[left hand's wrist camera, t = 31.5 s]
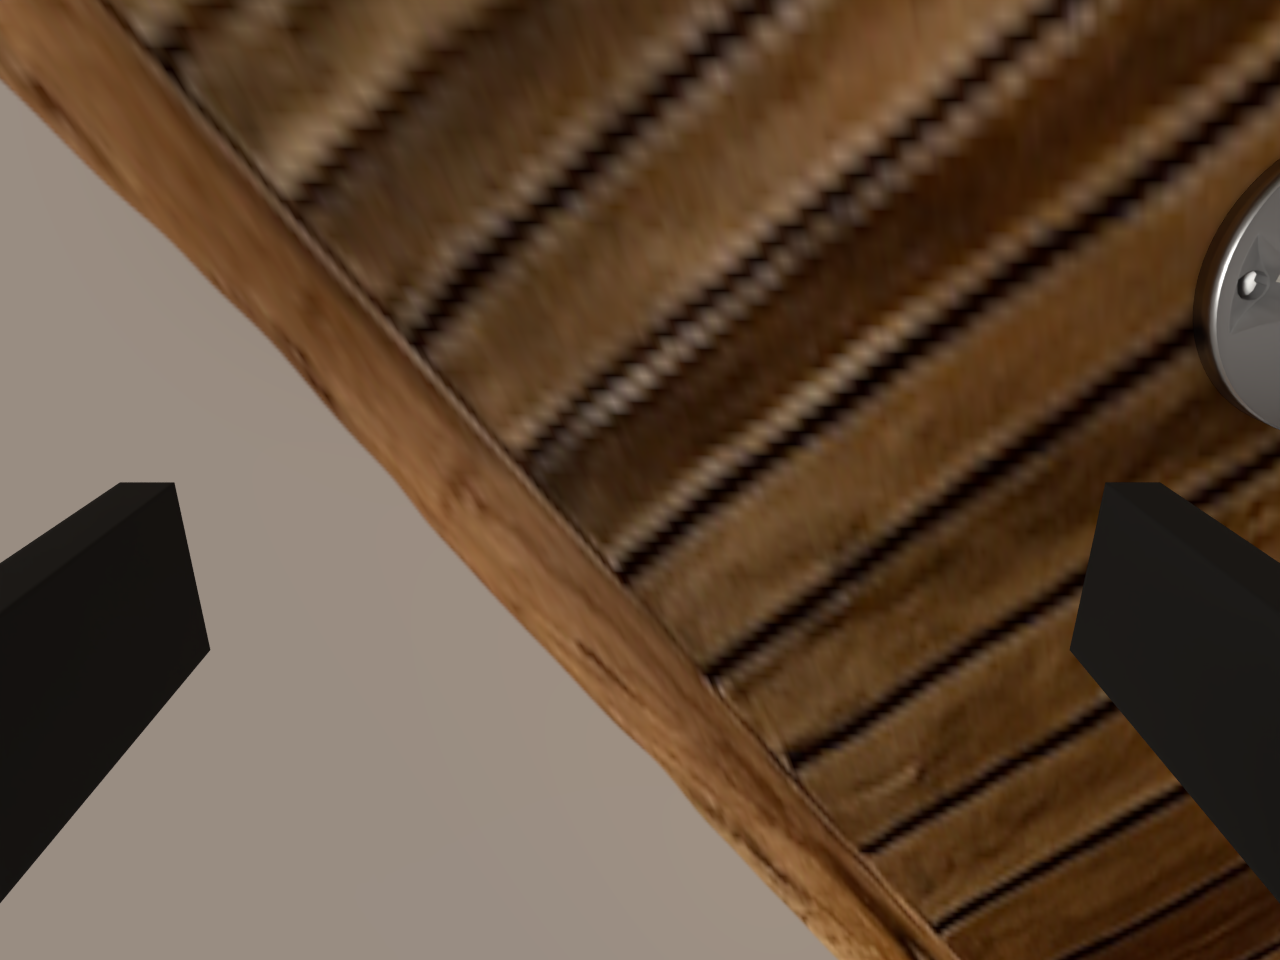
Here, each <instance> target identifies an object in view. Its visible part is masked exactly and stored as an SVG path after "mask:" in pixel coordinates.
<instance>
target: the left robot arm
mask: <svg viewBox="0 0 1280 960" xmlns="http://www.w3.org/2000/svg"><path fill="white" fill-rule="evenodd" d="M1193 328H1194V337H1195V342H1196V347H1197V351H1198V354H1199V357H1200V360H1201V363H1202V365H1203V367H1204V370H1205V372H1206V374H1207V375H1208V377H1209V379H1210V380H1211V382H1212V383H1213V385H1214V386H1215V387H1216V389H1217V390H1218V391H1219V392H1220V394H1221V395H1222V396H1223V397H1224V398H1226V399H1227V400H1228V401H1229V402H1230V403H1231V404H1232V405H1234V406H1235V407H1236V408H1238V409H1239V410H1240V411H1242V412H1244V413H1246V414H1247V415H1249V416H1251V417H1253V418H1255V419H1257V420H1259V421H1262V422H1264V423H1266V424H1268V425H1270V426H1272V427H1274V428H1277V429H1279V430H1280V159H1279V160H1277V161H1276V162H1275V163H1274V164H1273V165H1272V166H1270V167H1269V168H1268V169H1267V170H1266V171H1265V172H1263V173H1262V174H1261V175H1260V176H1259V177H1258V178H1257V179H1256V180H1255V181H1254V182H1253V183H1252V184H1251V185H1250V186H1249V188H1248V189H1247V190H1246V191H1245V192H1244V193H1243V195H1242V196H1241V197H1240V198H1239V199H1238V200H1237V202H1236V203H1235V205H1234V206H1233V207H1232V209H1231V210H1230V211H1229V213H1228V214H1227V216H1226V217H1225V219H1224V220H1223V222H1222V224H1221V225H1220V227H1219V229H1218V230H1217V232H1216V234H1215V236H1214V238H1213V240H1212V242H1211V244H1210V246H1209V248H1208V251H1207V253H1206V256H1205V258H1204V261H1203V264H1202V267H1201V270H1200V273H1199V276H1198V281H1197V285H1196V290H1195V297H1194V305H1193ZM209 651H210V646H209V642H208V637H207V632H206V628H205V623H204V618H203V614H202V609H201V604H200V600H199V595H198V590H197V586H196V581H195V576H194V572H193V567H192V562H191V558H190V553H189V549H188V544H187V539H186V535H185V530H184V525H183V521H182V516H181V511H180V507H179V502H178V497H177V493H176V488H175V483H119V484H117V485H116V486H114V487H113V488H111V489H110V490H108V491H107V492H105V493H104V494H102V495H101V496H99V497H98V498H96V499H95V500H93V501H92V502H90V503H89V504H87V505H86V506H84V507H83V508H81V509H80V510H78V511H77V512H75V513H74V514H73V515H71V516H70V517H68V518H67V519H65V520H64V521H62V522H61V523H59V524H58V525H56V526H55V527H53V528H52V529H50V530H49V531H47V532H46V533H44V534H43V535H41V536H40V537H38V538H37V539H35V540H34V541H32V542H31V543H29V544H28V545H27V546H25V547H24V548H22V549H21V550H19V551H18V552H16V553H15V554H13V555H12V556H10V557H9V558H7V559H6V560H4V561H3V562H1V563H0V903H1V902H2V900H3V899H4V898H5V897H6V896H7V894H8V893H9V892H10V891H11V889H12V888H13V887H14V886H15V885H16V883H17V882H18V881H19V880H20V879H21V877H22V876H23V875H24V874H25V873H26V871H27V870H28V869H29V868H30V867H31V865H32V864H33V863H34V862H35V861H36V859H37V858H38V857H39V856H40V855H41V853H42V852H43V851H44V850H45V849H46V847H47V846H48V845H49V844H50V842H51V841H52V840H53V839H54V838H55V836H56V835H57V834H58V833H59V832H60V830H61V829H62V828H63V827H64V826H65V824H66V823H67V822H68V821H69V820H70V818H71V817H72V816H73V815H74V813H75V812H76V811H77V810H78V809H79V808H80V806H81V805H82V804H83V803H84V801H85V800H86V799H87V798H88V797H89V795H90V794H91V793H92V792H93V791H94V789H95V788H96V787H97V786H98V785H99V783H100V782H101V781H102V780H103V779H104V777H105V776H106V775H107V774H108V773H109V771H110V770H111V769H112V768H113V767H114V765H115V764H116V763H117V762H118V760H119V759H120V758H121V757H122V756H123V754H124V753H125V752H126V751H127V750H128V748H129V747H130V746H131V745H132V744H133V742H134V741H135V740H136V739H137V738H138V736H139V735H140V734H141V733H142V732H143V730H144V729H145V728H146V727H147V726H148V724H149V723H150V722H151V721H152V720H153V718H154V717H155V716H156V715H157V714H158V712H159V711H160V710H161V709H162V708H163V706H164V705H165V704H166V703H167V701H168V700H169V699H170V698H171V697H172V695H173V694H174V693H175V692H176V691H177V689H178V688H179V687H180V686H181V685H182V683H183V682H184V681H185V680H186V679H187V677H188V676H189V675H190V674H191V672H192V671H193V670H194V669H195V668H196V666H197V665H198V664H199V663H200V662H201V661H202V659H203V658H204V657H205V656H206V654H207V653H208V652H209ZM1070 651H1071V652H1072V653H1073V654H1074V656H1075V657H1076V658H1077V659H1078V661H1079V662H1080V663H1081V664H1082V665H1083V667H1084V668H1085V669H1086V670H1087V671H1088V673H1089V674H1090V675H1091V676H1092V677H1093V679H1094V680H1095V681H1096V682H1097V683H1098V685H1099V686H1100V687H1101V688H1102V689H1103V691H1104V692H1105V693H1106V694H1107V695H1108V697H1109V698H1110V699H1111V700H1112V701H1113V703H1114V704H1115V705H1116V706H1117V708H1118V709H1119V710H1120V711H1121V712H1122V714H1123V715H1124V716H1125V717H1126V718H1127V720H1128V721H1129V722H1130V723H1131V724H1132V726H1133V727H1134V728H1135V729H1136V730H1137V732H1138V733H1139V734H1140V735H1141V736H1142V738H1143V739H1144V740H1145V741H1146V742H1147V744H1148V745H1149V746H1150V747H1151V748H1152V750H1153V751H1154V752H1155V753H1156V755H1157V756H1158V757H1159V758H1160V759H1161V761H1162V762H1163V763H1164V764H1165V765H1166V767H1167V768H1168V769H1169V770H1170V771H1171V773H1172V774H1173V775H1174V776H1175V777H1176V779H1177V780H1178V781H1179V782H1180V783H1181V785H1182V786H1183V787H1184V788H1185V789H1186V791H1187V792H1188V793H1189V794H1190V795H1191V797H1192V798H1193V799H1194V800H1195V802H1196V803H1197V804H1198V805H1199V806H1200V808H1201V809H1202V810H1203V811H1204V812H1205V814H1206V815H1207V816H1208V817H1209V818H1210V820H1211V821H1212V822H1213V823H1214V824H1215V826H1216V827H1217V828H1218V829H1219V830H1220V832H1221V833H1222V834H1223V835H1224V836H1225V838H1226V839H1227V840H1228V841H1229V842H1230V844H1231V845H1232V846H1233V847H1234V849H1235V850H1236V851H1237V852H1238V853H1239V855H1240V856H1241V857H1242V858H1243V859H1244V861H1245V862H1246V863H1247V864H1248V865H1249V867H1250V868H1251V869H1252V870H1253V871H1254V873H1255V874H1256V875H1257V876H1258V877H1259V879H1260V880H1261V881H1262V882H1263V883H1264V885H1265V886H1266V887H1267V888H1268V889H1269V891H1270V892H1271V893H1272V894H1273V896H1274V897H1275V898H1276V899H1277V900H1278V902H1279V903H1280V563H1279V562H1277V561H1276V560H1274V559H1273V558H1271V557H1270V556H1268V555H1267V554H1265V553H1264V552H1262V551H1261V550H1259V549H1258V548H1256V547H1255V546H1253V545H1252V544H1251V543H1249V542H1248V541H1246V540H1245V539H1243V538H1242V537H1240V536H1239V535H1237V534H1236V533H1234V532H1233V531H1231V530H1230V529H1228V528H1227V527H1225V526H1224V525H1222V524H1221V523H1219V522H1218V521H1216V520H1215V519H1213V518H1212V517H1210V516H1209V515H1207V514H1206V513H1205V512H1203V511H1202V510H1200V509H1199V508H1197V507H1196V506H1194V505H1193V504H1191V503H1190V502H1188V501H1187V500H1185V499H1184V498H1182V497H1181V496H1179V495H1178V494H1176V493H1175V492H1173V491H1172V490H1170V489H1169V488H1167V487H1166V486H1164V485H1163V484H1161V483H1105V488H1104V493H1103V497H1102V502H1101V507H1100V511H1099V516H1098V521H1097V525H1096V530H1095V535H1094V539H1093V544H1092V548H1091V553H1090V558H1089V562H1088V567H1087V572H1086V576H1085V581H1084V586H1083V590H1082V595H1081V600H1080V604H1079V609H1078V614H1077V618H1076V623H1075V628H1074V632H1073V637H1072V642H1071V646H1070Z"/></svg>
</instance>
